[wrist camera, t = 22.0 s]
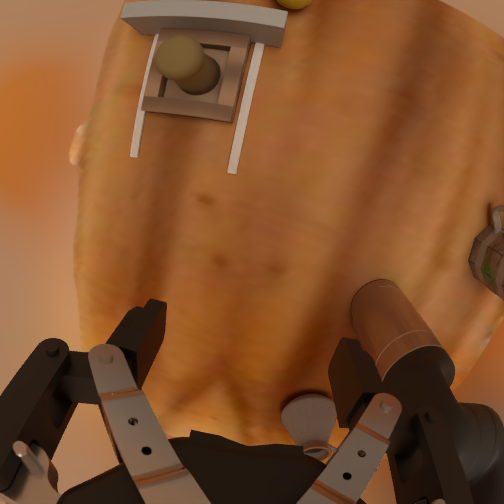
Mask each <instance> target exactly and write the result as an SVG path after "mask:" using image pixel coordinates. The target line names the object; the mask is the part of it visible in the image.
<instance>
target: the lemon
mask: <svg viewBox="0 0 504 504" xmlns="http://www.w3.org/2000/svg"><path fill="white" fill-rule="evenodd" d="M276 1H277V2H278V3H279V4H280V5H282V6H283V7H286V8H289V9H301V8H304V7H306V6H308V5H309V4H310V3H311V2H312V1H313V0H276Z"/></svg>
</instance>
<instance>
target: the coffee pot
mask: <svg viewBox="0 0 504 504" xmlns="http://www.w3.org/2000/svg"><path fill="white" fill-rule="evenodd" d="M336 418H337V413H336V408H335V403H334V402H333V401H332V400H331V399H330V398H328V397H325V396H323V395H319V394H304V395H301V396H299V397H297V398H295V399H293V400H292V401H290V402H289V403H288V404H287V405H286V406H285V408H284V409H283V411H282V414H281V420H282V423H283V425H284V426H285V428H286V429H287V431H288V433H289V434H290V436H291V437H292V439H293V440H294V442H295V443H296V445H297V446H303V450H304V454H307V455H309V456H312V457H314V458H316V459H318V460H320V461H323V460H325V459H327V458H329V457H330V456H331V454H332V451H333V452H335V451H336V449H337V448H335V447H333V446H331V445H330V444H328V441H329V438H330V435H331V432H332V429H333V427H334V424H335V421H336ZM379 466H380V464H379ZM379 466H378V468H379ZM378 468H377V469H378ZM377 469H376V471H377ZM376 471H375V472H376Z"/></svg>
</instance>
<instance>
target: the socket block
mask: <svg viewBox="0 0 504 504" xmlns="http://www.w3.org/2000/svg"><path fill="white" fill-rule="evenodd" d="M179 35H185V36H189V37H192V38H194V39H196V40H197V41H198V42H199V43H200V45H201V46H202V47H203V51H204V53H205V54H207V55H208V56H210V57H212V58H213V59H215V60H216V62H217V63H218V64H219V66H220V70H221V76H220V80H219V82H218V84H217V85H216V87H215V88H214V89H213V90H211V91H210V92H208V93H206V94H203V95H190V94H187V93H185V92H184V91H183V90H181V88H180V87H179V85H178V84H177V83H176V81H175V80H171V79H168V78H166V77H164V76H163V75H161V74H160V73H159V71H158V70H157V68H156V64H155V54H156V52H157V50H158V48H159V47H160V45H161V44H162V43H163V42H165V41H166V40H167V39H169V38H171V37H174V36H179ZM250 46H251V37H250V35H244V34H236V33H228V32H219V31H208V30H194V29H169V28H161V29H160V32H159V36H158V39H157V43H156V46H155V50H154V54H153V58H152V62H151V66H150V70H149V74H148V78H147V83H146V87H145V92H144V97H143V101H142V106H141V111H147V112H155V113H164V114H173V115H182V116H190V117H197V118H204V119H210V120H217V121H223V122H229V123H233V120H234V115H235V111H236V106H237V101H238V97H239V93H240V88H241V84H242V79H243V75H244V71H245V67H246V62H247V58H248V54H249V50H250Z"/></svg>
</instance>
